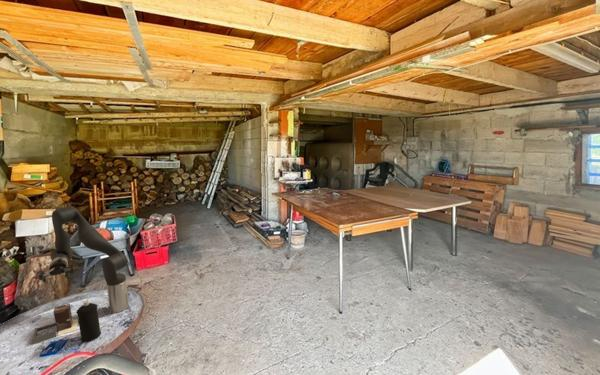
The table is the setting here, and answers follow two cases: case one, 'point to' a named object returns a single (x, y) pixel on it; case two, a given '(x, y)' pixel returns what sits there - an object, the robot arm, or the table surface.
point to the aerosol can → (88, 322)
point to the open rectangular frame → (45, 336)
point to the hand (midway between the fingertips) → (55, 278)
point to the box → (63, 317)
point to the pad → (73, 328)
